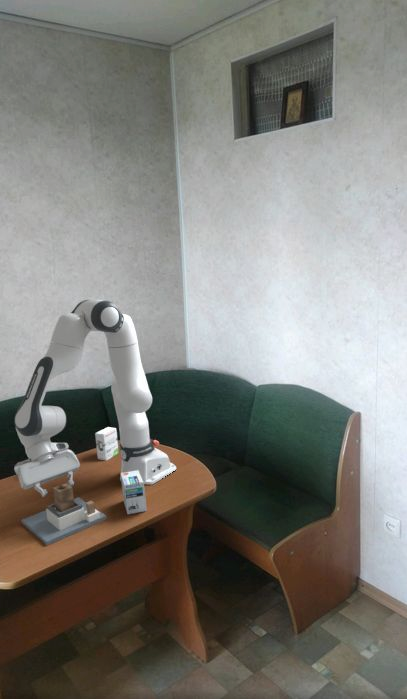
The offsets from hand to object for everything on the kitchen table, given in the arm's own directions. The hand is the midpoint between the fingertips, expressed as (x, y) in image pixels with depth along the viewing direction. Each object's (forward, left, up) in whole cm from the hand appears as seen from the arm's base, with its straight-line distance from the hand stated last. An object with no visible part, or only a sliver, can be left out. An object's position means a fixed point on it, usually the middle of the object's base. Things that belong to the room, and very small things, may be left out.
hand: (58, 490), depth 175 cm
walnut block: (0, +3, -5) cm, 6 cm away
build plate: (0, +1, -11) cm, 11 cm away
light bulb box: (-22, +10, -11) cm, 27 cm away
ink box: (-39, -35, -11) cm, 53 cm away
